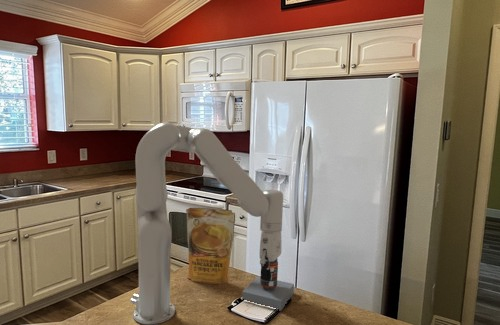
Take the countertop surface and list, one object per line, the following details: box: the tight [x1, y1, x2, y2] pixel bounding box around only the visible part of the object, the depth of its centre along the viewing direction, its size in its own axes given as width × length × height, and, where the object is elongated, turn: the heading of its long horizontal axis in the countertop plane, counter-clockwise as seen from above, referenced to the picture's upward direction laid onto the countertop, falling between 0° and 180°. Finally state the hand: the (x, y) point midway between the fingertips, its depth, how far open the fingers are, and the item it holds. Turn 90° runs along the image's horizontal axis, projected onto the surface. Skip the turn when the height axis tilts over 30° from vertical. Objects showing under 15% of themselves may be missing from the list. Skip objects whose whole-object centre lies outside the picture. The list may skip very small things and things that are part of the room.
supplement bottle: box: [260, 258, 279, 289], centre depth 118 cm, size 6×6×11 cm
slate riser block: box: [241, 275, 295, 312], centre depth 119 cm, size 14×14×4 cm
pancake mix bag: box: [185, 207, 236, 285], centre depth 130 cm, size 7×19×28 cm, turn 80°
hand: (268, 275), depth 118 cm, fingers closed on supplement bottle, 5 cm apart
